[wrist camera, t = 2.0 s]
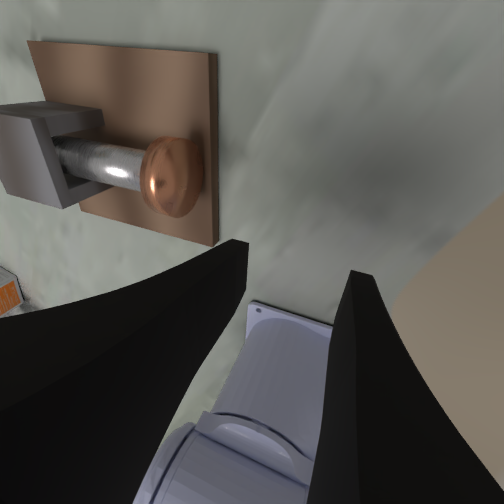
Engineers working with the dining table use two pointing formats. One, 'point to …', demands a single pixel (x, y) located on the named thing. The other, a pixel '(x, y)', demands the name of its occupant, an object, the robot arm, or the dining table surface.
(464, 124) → the dining table surface
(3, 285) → the skincare box
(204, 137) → the stand
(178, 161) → the shaft
